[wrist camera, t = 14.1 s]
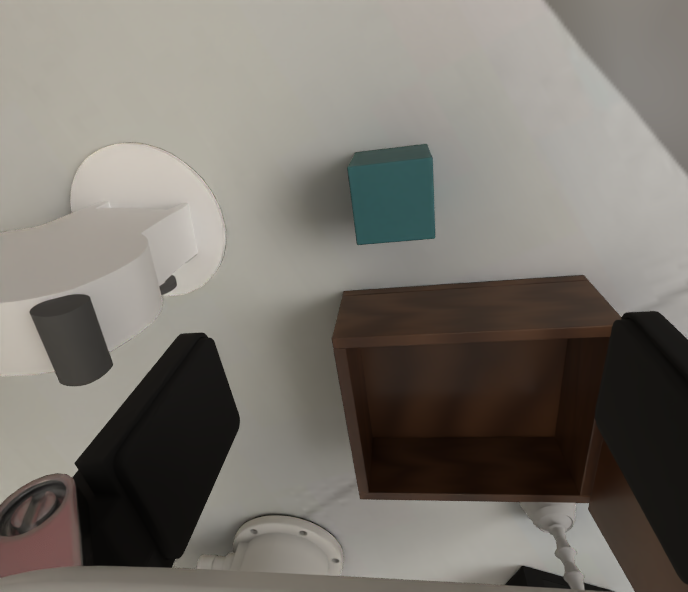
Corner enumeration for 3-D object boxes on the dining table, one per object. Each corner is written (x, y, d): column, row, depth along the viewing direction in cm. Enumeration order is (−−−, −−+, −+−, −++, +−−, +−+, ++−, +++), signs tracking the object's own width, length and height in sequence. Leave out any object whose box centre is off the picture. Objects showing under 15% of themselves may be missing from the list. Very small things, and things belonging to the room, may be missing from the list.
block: (362, 221, 28) (357, 245, 24) (354, 152, 26) (346, 167, 22) (430, 214, 28) (435, 238, 24) (427, 143, 25) (432, 157, 22)
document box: (365, 437, 38) (359, 499, 32) (343, 290, 31) (331, 338, 25) (560, 435, 35) (590, 503, 30) (584, 274, 28) (628, 324, 23)
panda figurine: (92, 290, 34) (-103, 431, 21) (42, 142, 28) (-267, 205, 15) (236, 297, 32) (125, 452, 19) (212, 143, 27) (35, 213, 14)
